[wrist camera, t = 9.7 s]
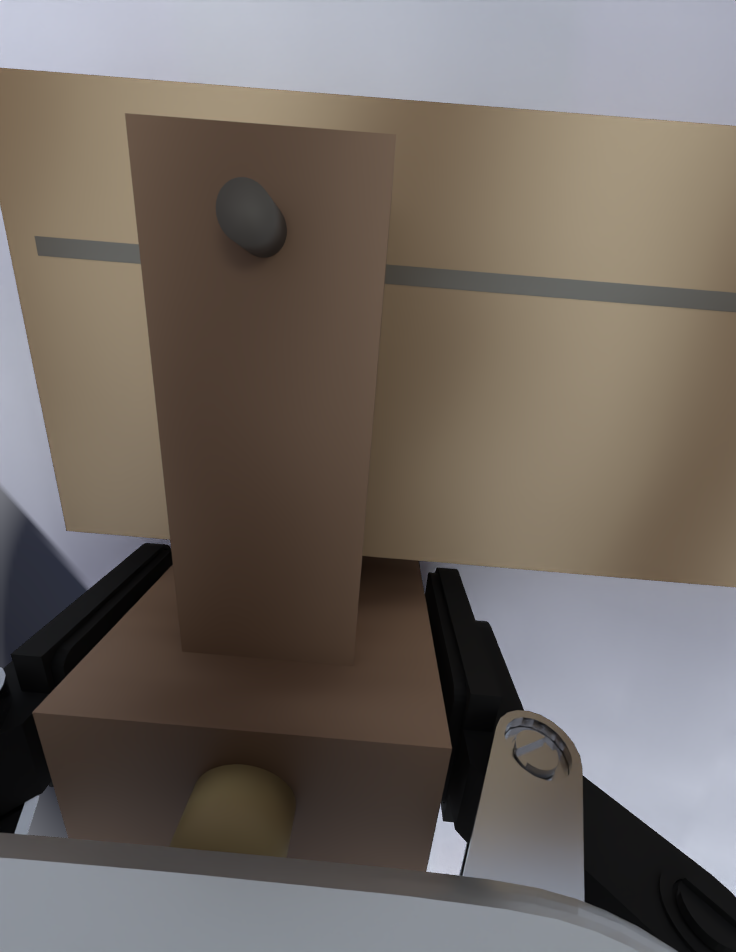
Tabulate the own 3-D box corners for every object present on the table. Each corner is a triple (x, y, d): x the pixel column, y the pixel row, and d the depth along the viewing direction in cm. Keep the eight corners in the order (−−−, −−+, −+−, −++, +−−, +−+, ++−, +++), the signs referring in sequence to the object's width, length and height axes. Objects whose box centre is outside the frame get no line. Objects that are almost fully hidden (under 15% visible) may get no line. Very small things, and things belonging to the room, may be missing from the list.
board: (1394, 250, 8) (1816, 210, 6) (1122, 573, 11) (1335, 638, 8) (90, 146, 8) (-29, 65, 6) (135, 490, 11) (66, 531, 8)
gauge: (453, 249, 9) (701, -79, 2) (402, 637, 12) (428, 985, 6) (191, 227, 9) (-437, -164, 2) (217, 622, 12) (23, 948, 6)
